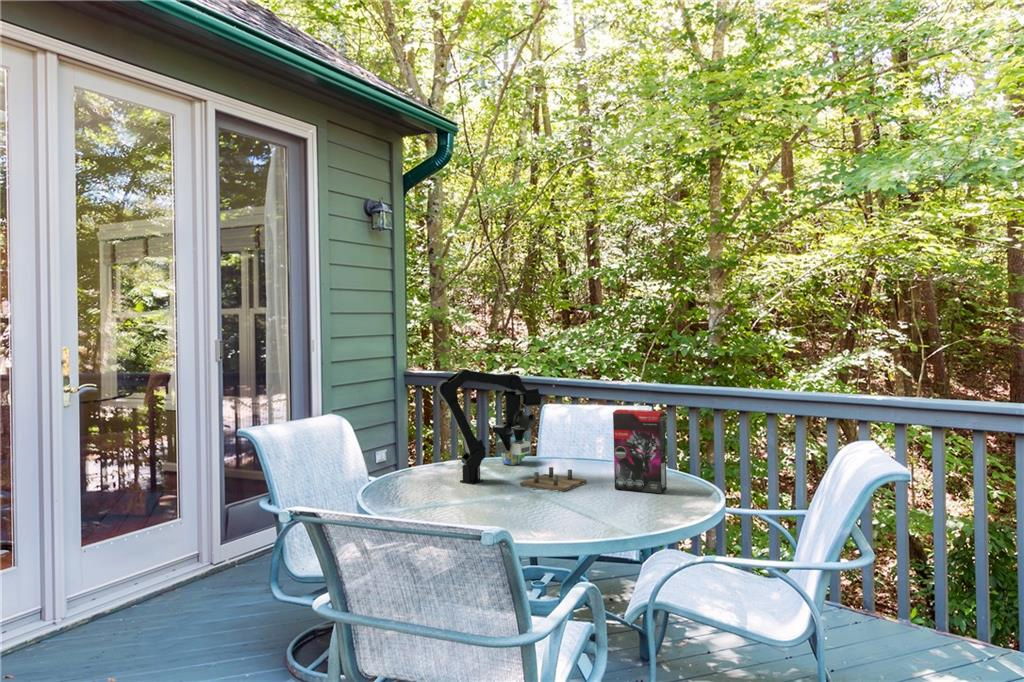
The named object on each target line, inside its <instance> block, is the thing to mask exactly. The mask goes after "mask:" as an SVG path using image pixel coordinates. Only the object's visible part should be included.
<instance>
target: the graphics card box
mask: <svg viewBox="0 0 1024 682" xmlns="http://www.w3.org/2000/svg"><path fill="white" fill-rule="evenodd" d="M612 424H613V426H612V427H613V429H612V430H613V431H612V432H613V462H614V463H613V466H614V467H613V469H614V472H613V474H614V490H619V489H621V491H622V490H623V491H633V492H634V491H635V492H645V493H653V494H655V493H656V494H657V493H658V494H662V493H663V492H665V491H667V488H668V487H667V485H668V483H667V455H666V454H667V453H666V451H667V450H666V412H665V410H645V409H644V410H642V409H616V410H614V411H613V412H612Z"/></svg>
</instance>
